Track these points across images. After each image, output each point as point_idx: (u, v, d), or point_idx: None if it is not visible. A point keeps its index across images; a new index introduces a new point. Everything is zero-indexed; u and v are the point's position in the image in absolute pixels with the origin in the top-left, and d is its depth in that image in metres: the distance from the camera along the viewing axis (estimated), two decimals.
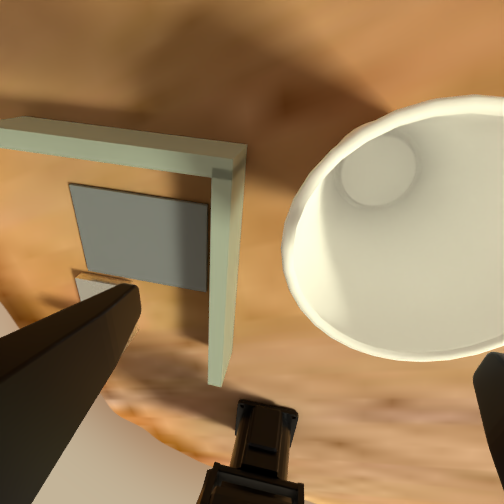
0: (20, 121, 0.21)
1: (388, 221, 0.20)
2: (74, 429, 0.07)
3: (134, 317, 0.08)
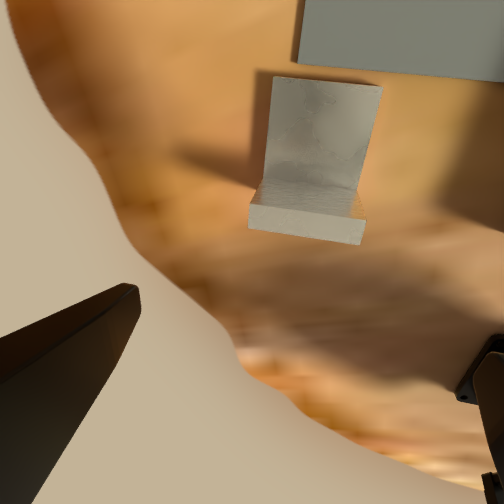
0: None
1: None
2: (74, 429, 0.07)
3: (134, 317, 0.08)
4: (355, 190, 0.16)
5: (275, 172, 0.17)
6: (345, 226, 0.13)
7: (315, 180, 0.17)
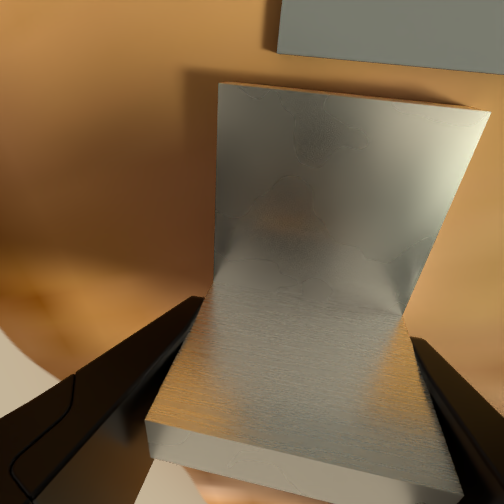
0: None
1: None
2: None
3: None
4: (400, 317, 0.08)
5: (236, 275, 0.08)
6: (399, 494, 0.05)
7: (317, 294, 0.08)
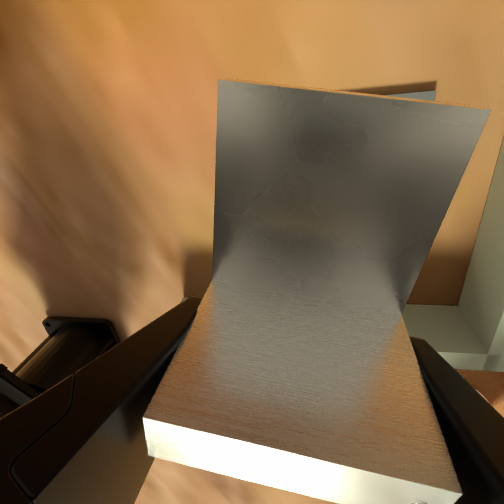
0: None
1: None
2: None
3: None
4: (399, 316, 0.08)
5: (235, 273, 0.08)
6: (398, 493, 0.05)
7: (316, 292, 0.08)
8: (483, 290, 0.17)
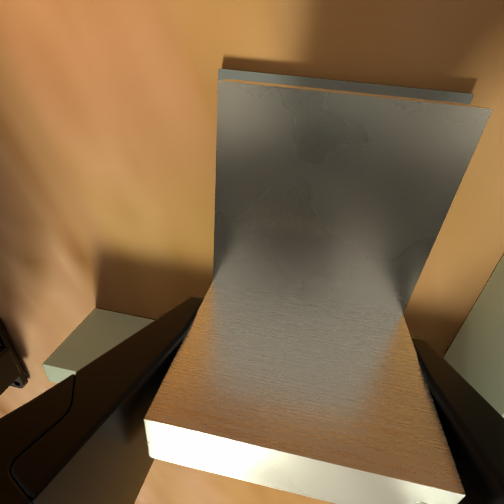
0: None
1: None
2: None
3: None
4: (401, 316, 0.08)
5: (236, 274, 0.08)
6: (400, 494, 0.05)
7: (317, 293, 0.08)
8: (472, 374, 0.13)
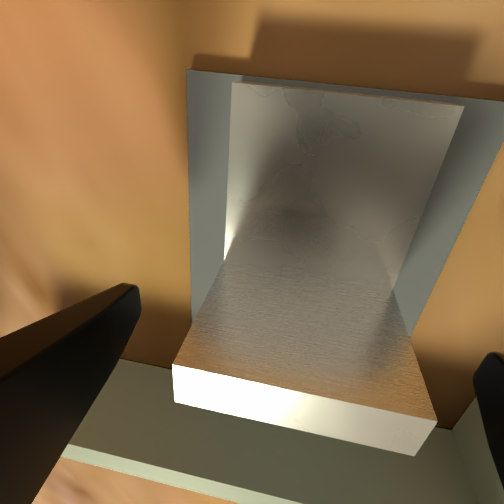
0: None
1: None
2: (74, 429, 0.07)
3: (134, 317, 0.08)
4: (391, 290, 0.09)
5: (245, 254, 0.09)
6: (385, 424, 0.06)
7: (317, 270, 0.09)
8: None
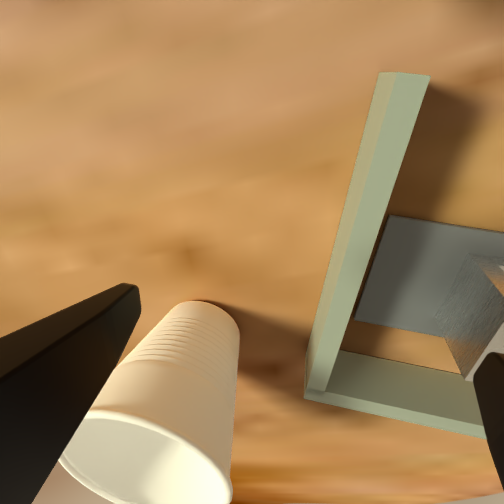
0: None
1: None
2: (74, 429, 0.07)
3: (134, 317, 0.08)
4: None
5: None
6: None
7: None
8: (361, 375, 0.22)
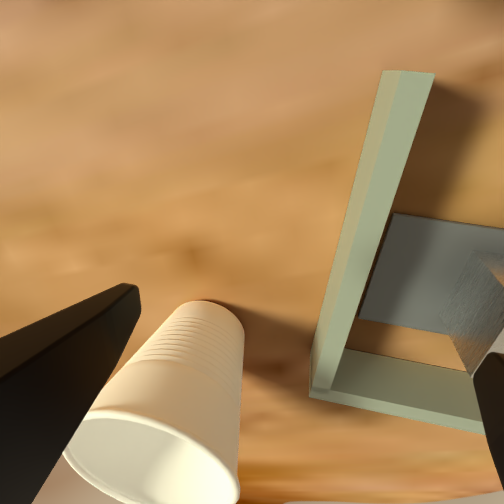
0: None
1: None
2: (74, 429, 0.07)
3: (134, 317, 0.08)
4: None
5: None
6: None
7: None
8: (366, 373, 0.22)
